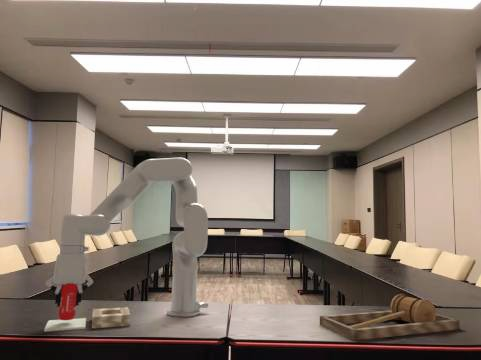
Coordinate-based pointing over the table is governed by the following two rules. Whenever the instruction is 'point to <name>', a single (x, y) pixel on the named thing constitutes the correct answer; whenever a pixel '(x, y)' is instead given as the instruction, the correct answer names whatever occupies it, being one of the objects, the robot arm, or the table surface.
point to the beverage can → (68, 301)
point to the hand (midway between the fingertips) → (68, 304)
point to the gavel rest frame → (338, 326)
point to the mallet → (406, 311)
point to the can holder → (110, 317)
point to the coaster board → (65, 324)
